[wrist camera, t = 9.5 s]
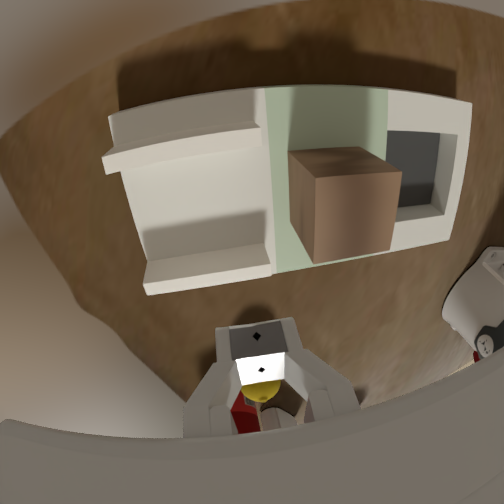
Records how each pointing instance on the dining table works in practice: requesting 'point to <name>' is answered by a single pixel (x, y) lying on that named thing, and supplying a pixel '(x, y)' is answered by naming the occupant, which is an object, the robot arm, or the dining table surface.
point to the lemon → (261, 390)
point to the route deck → (274, 172)
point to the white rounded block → (276, 419)
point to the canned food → (245, 415)
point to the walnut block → (342, 201)
